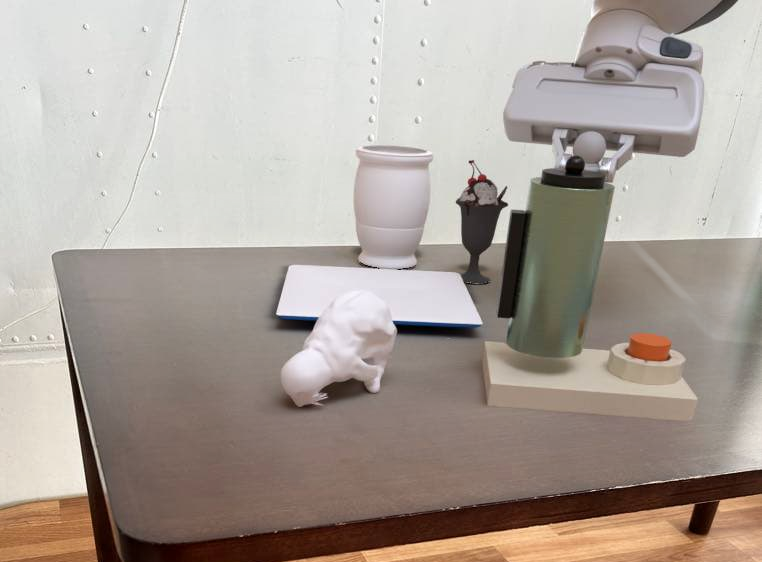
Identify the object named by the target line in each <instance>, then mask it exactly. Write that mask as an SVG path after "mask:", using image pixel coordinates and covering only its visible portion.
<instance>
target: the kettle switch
mask: <svg viewBox="0 0 762 562" xmlns="http://www.w3.org/2000/svg"><path fill="white" fill-rule="evenodd" d="M628 343H629V347H628V352H627V355H629V356H631V357H633V358H637V359H641V360H645V361H657V362H662V361H667V359H668V355H669V351H670V349H671V348H672V343H673V342H672V340H671V339H670V338H667V337H666V336H663V335H659V334H654V333H645V332H644V333H643V332H642V333H634V334H632V335H631V336H630V338H629V342H628Z"/></svg>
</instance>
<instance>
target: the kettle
mask: <svg viewBox="0 0 762 562" xmlns="http://www.w3.org/2000/svg"><path fill="white" fill-rule="evenodd" d="M584 168H585V162H584V159H583V158H582V157H580V156H578V155H574V156H573V155H572V156H571V157H570V158H569V159H568V160H567V161H566V164H565V168H554V167H550V168H544V169H542V170H541V175H540V176H538V177H532V178H530V179H529V183H528V190H527V198H526V204H525V210H524V209H510V211H509V212H510V213H509V219H508V227H507V233H506V240H505V248H504V256H503V263H502V270H501V277H500V285H499V292H498V299H497V307H496V318H498V319H509V320H508V326H507V334H506V340H505V343H507V345H508V346H509V347H510V348H512V349H513V350H515V351H518V352H520V353H523V354H527V355H531V356H536V357H543V358H569V357H574V356H577V355H579V354H580V353H581V352H582V351H583V349H584V344H585V340H586V335H587V329H588V324H589V320H590V315H591V310H592V306H593V305H592V304H593V299H594V295H595V289H596V286H597V285H596V284H597V280H598V276H599V275H598V274H599V269H600V264H601V259H602V254H603V248H604V243H605V238H606V234H607V228H608V224H609V218H610V213H611V210H612V209H611V208H612V203H613V198H614V193H615V189H616V187H615V185H614V184H612V183H607V182H605V177H606V175H605V174H602V173H599V172H594V171H588V170H584Z"/></svg>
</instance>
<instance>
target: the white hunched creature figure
mask: <svg viewBox="0 0 762 562" xmlns="http://www.w3.org/2000/svg"><path fill="white" fill-rule="evenodd" d="M397 334H398V329H397V327H396V325H394V324H393V321H392V315H391V312H390V309H389V307H388V305H387V304H386V302H385V301H384V300H382V299H380V298H379V297H377V296H376V295H375V294H373V293H372V292H370V291H368V290H351V291H348V292H346V293H344V294H342V295H340V296H339V297H337V298H336V299H335V300H334V301H333V302H332V303H331V304H330V305H329V306H328V307H327V308H326V309H325V310H324V311H323V313H322V315H321V316H320V317H319V318H318V320H317V321H315V324H314V325H313V329H312V330H311V333H310V334H309V335H308V336H307V337H306V338H305V340H304V343H303V345H302V350H301V351H299V352H297V353H296V354H294V355H293V356H291V358H289V360H287V361H286V362H285V363H284V365H283V366H282V367H281V370H280V383H281V387H282V389H283V391H284V392H285V393H286V394H287V395H288V396H289V397H290V398H291V400H292V401H293V403H294V404H295V405H296V406H297V407H298V408H302V407H303V406H307V405H316V406H323V405H324V403H322V404H321V403H319V401H322V400H325V399H327V398H329V396H327V395H328V393H323V392H321V390H322V389H324V388H325V387H327V386H328V385H330V384H334V383H342V382H346V381H349V380H350V379H354V380H356V381H361V382H363V384H364V386H365V387H366V390H367V391H368V392H369V393H371V394H377V393H379V392H380V389H381V379H382V377H383V375H384V373H385V368H386V367H387V364H388V359H389V357H390V356H391V354H392V353H393V350H394V345H395V341H396V337H397Z"/></svg>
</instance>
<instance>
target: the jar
mask: <svg viewBox="0 0 762 562" xmlns="http://www.w3.org/2000/svg"><path fill="white" fill-rule="evenodd" d="M434 153H435V152H433V151H431V150H427V149H424V148H423V149H422V148H417V147H411V146H401V145H383V144H382V145H379V144H378V145H376V144H375V145H363V146H358V147H356V150H355V157H357V159H359V163H358V166H357V169H356V173H355V178H354V184H353V185H354V186H353V213H354V219H355V230H356V231H355V232H356V237H357V240H358V244H359V246H360V248H361V252H360V254H359V256H358V258H357V261H358V260H359V261H358V263H360V262H361V263H363V264H365V265H368V266H372V267H371V268H373V267H377V268H376V269H378V268H387V269H401V270H403V269H402V268H408V269H410V268H409V267H412V268H414V267H416V266H417V265H418V260H417V258H416V256H415V252H416V251H417V250H418V249H419V248H418V247H419V245H420V244H421V240H422V238H423V235H424V230H425V225H426V221H427V217H428V214H429V209H430V204H431V203H430V201H431V174H430V169H429V165H430V163H432V162H433V160H434ZM361 263H360V264H361ZM363 264H362V265H363ZM365 265H364V266H365ZM415 265H416V266H415ZM368 266H367V267H368ZM413 266H414V267H413Z"/></svg>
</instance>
